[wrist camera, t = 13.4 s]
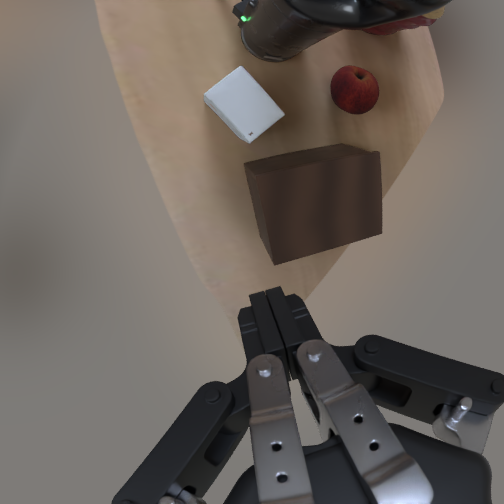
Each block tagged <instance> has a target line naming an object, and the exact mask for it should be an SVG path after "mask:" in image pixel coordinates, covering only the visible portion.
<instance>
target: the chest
mask: <svg viewBox="0 0 504 504" xmlns="http://www.w3.org/2000/svg"><path fill="white" fill-rule="evenodd" d="M367 152H370V151H367V150H363V149H360V148H356V147H353V146H349V145H345V144H336V145H330V146H324V147H318V148H313V149H307V150H302V151H297V152H292V153H287V154H282V155H277V156H273V157H268V158H264V159H259V160H255V161H251V162H247V163H244V168H245V172H246V176H247V181H248V185H249V189H250V194H251V198H252V203H253V207H254V212H255V216H256V220H257V225H258V229H259V234H260V237H261V239H262V241H263V243H264V245H265V248H266V250H267V252H268V254H269V256H270V258H271V260H272V256H271V251H270V246H269V242H268V237H267V232H266V227H265V222H264V218H263V213H262V208H261V204H260V199H259V194H258V190H257V185H256V180H255V175H257V174H261V173H266V172H270V171H274V170H279V169H283V168H287V167H292V166H297V165H301V164H306V163H311V162H316V161H321V160H327V159H332V158H337V157H343V156H349V155H355V154H361V153H367ZM272 262H273V261H272Z"/></svg>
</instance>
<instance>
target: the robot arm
mask: <svg viewBox="0 0 504 504" xmlns="http://www.w3.org/2000/svg"><path fill="white" fill-rule="evenodd" d="M451 1H452V0H242V2H240V3H238V4H236V5H235V6H234V8H233V11H232V13H234V14H235V15H236V16H237V17H238V18H239V19H240V21H239V23H238V26H239V27H240V28H241V38H242V41H243V44H244V45H245V47H246V48H247V50H248V51H249V52H250V53H252V54H253V55H254V56H256V57H258V58H260V59H262V60H265V61H271V62H280V61H284V60H287V59H290V58H291V57H293V56H295V55H296V54H297V53H299V52H301V51H302V50H304V49H306V48H308V47H310V46H311V45H313V44H315V43H317V42H319V41H321V40H323V39H325V38H326V37H328V36H330V35H332V34H335V33H337V32H339V31H341V30H343V29H349V30H361V29H367V28H371V27H374V26H378V25H382V24H386V23H390V22H395V21H399V20H404V19H408V18H413V17H417V16H420V15H424V14H427V13H430V12H432V11H435V10H437V9H439V8H441V7H443V6H445V5H446V4H448V3H449V2H451ZM265 294H266V295H265ZM249 298H250V301H251V305H252V306H249V307H245V308H242V309H240V312H239V315H238V322H239V327H240V331H241V336H242V341H243V346H244V350H245V354H246V359H247V365H246V368H245V370H244V372H243V373H242V374H241V375H240V376H239V377H238V378H236V379H235V380H233V381H231V382H229V383H227V384H225V383H223V382H219V381H213V382H209V383H206V384H205V385H203V386H202V387H200V388H199V390H198V391H197V392H196V394H195V395H194V396H193V398H192V399H191V401H190V402H189V403H188V404H187V406H186V407H185V409H184V410H183V411H182V412H181V414H180V415H179V416H178V418H177V419H176V420H175V422H174V423H173V424H172V426H171V427H170V428H169V429H168V431H167V432H166V433H165V435H164V436H163V437H162V438H161V440H160V441H159V442H158V444H157V445H156V446H155V447H154V449H153V450H152V451H151V452H150V454H149V455H148V456H147V457H146V459H145V460H144V461H143V462H142V464H141V465H140V466H139V467H138V469H137V470H136V471H135V472H134V474H133V475H132V476H131V477H130V478H129V480H128V481H127V482H126V483H125V485H124V486H123V487H122V488H121V489H120V491H119V492H118V493H117V494H116V495H115V496H114V498H113V500H112V504H206V502H205V501H204V500H203V499H202V497H203V496H204V495H205V493H206V492H207V490H208V489H209V488H210V486H211V485H212V483H213V482H214V481H215V479H216V478H217V476H218V475H219V473H220V472H221V470H222V469H223V467H224V466H225V464H226V463H227V461H228V460H229V458H230V457H231V455H232V454H233V451H234V450H235V449H236V447H237V446H238V444H239V442H240V441H241V439H242V438H243V436H244V434H245V433H246V431H247V429H248V427H250V434H251V443H252V451H253V458H254V465H252V466H251V467H250V468H248V469H247V470H246V471H245V472H244V473H243V474H242V475H241V477H240V478H239V479H238V481H237V482H236V484H235V485H234V487H233V489H232V490H231V492H230V494H229V495H228V497H227V498H226V500H225V502H224V503H223V504H492V500H491V480H492V472H491V468H490V465H489V463H488V461H487V460H486V458H485V457H484V456H482V453H483V450H484V447H485V444H486V441H487V438H488V434H489V431H490V427H491V424H492V420H493V416H494V413H495V411H496V410H497V409H498V408H499V407H500V406H501V405H502V404H503V403H504V375H502V374H501V373H498V372H494V371H491V370H487V369H484V368H480V367H476V366H473V365H470V364H466V363H463V362H459V361H456V360H453V359H449V358H446V357H443V356H439V355H436V354H433V353H430V352H427V351H424V350H421V349H417V348H414V347H411V346H408V345H405V344H402V343H399V342H396V341H393V340H390V339H387V338H384V337H381V336H378V335H366V336H364V337H362V338H360V339H359V340H358V341H357V342H356V344H355V345H353V346H340V347H339V346H334V345H331V344H328V343H327V342H326V341H325V340H324V339H323V338H322V336H321V334H320V332H319V330H318V328H317V327H316V325H315V323H314V321H313V319H312V317H311V315H310V313H309V311H308V309H307V308H306V305H305V303H304V302H303V300H302V299H301V298H300V297H299V296H297V295H296V294H291V295H288V296H285V295H284V293H283V291H282V288H281V287H280V286H279V287H275V288H272V289H268V290H265V292H264V291H262V292H258V293H254V294H251V295H249ZM289 371H290V373H289ZM290 374H291V377H292V379H293V380H295V379H298V380H299V383H300V386H301V391H302V395H303V397H304V399H305V401H306V403H307V405H308V407H309V409H310V411H311V414H312V415H313V417H314V420H315V422H316V424H317V426H318V428H319V431H320V435H321V438H322V440H323V443H322V444H319V445H313V446H302V445H301V440H300V436H299V432H298V427H297V423H296V419H295V414H294V410H293V406H292V402H291V392H290V387H289V382H288V381H291V378H290ZM376 405H379V406H381V407H384V408H386V409H389V410H392V411H394V412H397V413H400V414H403V415H405V416H408V417H411V418H414V419H416V420H419V421H422V422H425V423H429V424H431V425H433V426H432V427H433V432H434V434H435V435H436V437H438V438H440V439H441V440H443V441H445V442H443V441H440V440H437V439H434V438H432V437H429V436H427V435H424V434H421V433H419V432H416V431H414V430H411V429H408V428H406V427H404V426H401V425H397V424H394V423H387V421H386V420H385V418H384V417H383V415H382V413H381V412H380V411H379V409H378V407H377V406H376Z"/></svg>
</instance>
